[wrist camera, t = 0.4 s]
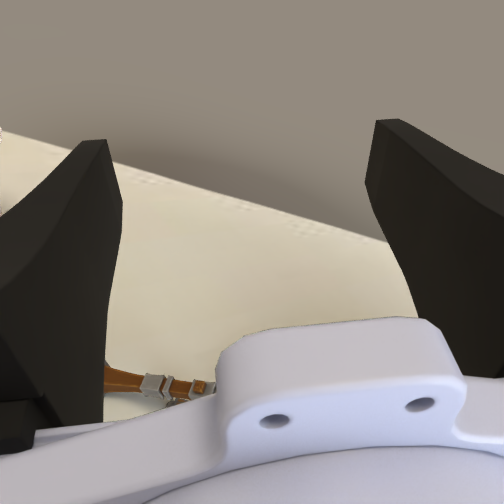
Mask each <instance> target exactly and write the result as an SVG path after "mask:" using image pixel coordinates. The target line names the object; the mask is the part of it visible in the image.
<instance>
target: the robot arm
mask: <svg viewBox="0 0 504 504" xmlns="http://www.w3.org/2000/svg"><path fill="white" fill-rule="evenodd" d="M365 185H366V189H367V192H368V196H369V199H370V203H371V206H372V209H373V212H374V214H375V216H376V218H377V220H378V223H379V225H380V227H381V229H382V231H383V233H384V235H385V237H386V239H387V241H388V243H389V245H390V247H391V249H392V251H393V253H394V256H395V258H396V260H397V262H398V264H399V266H400V268H401V270H402V272H403V275H404V277H405V279H406V282H407V284H408V287H409V290H410V293H411V296H412V299H413V302H414V305H415V307H416V310H417V314H418V317H419V318H411V317H398V316H394V317H384V318H374V319H364V320H354V321H344V322H334V323H324V324H314V325H304V326H294V327H284V328H275V329H268V330H264V331H260V332H257V333H253V334H249V335H245V336H243V337H242V338H240V339H239V340H237V341H236V342H235V343H233V344H232V345H230V346H229V347H228V348H226V349H225V350H224V351H222V352H221V354H220V357H219V360H218V363H217V365H216V368H215V374H216V390H217V392H216V393H214V394H211V395H208V396H204V397H201V398H198V399H194V400H191V401H188V402H185V403H181V404H178V405H175V406H171V407H168V408H165V409H161V410H158V411H155V412H152V413H148V414H145V415H142V416H138V417H135V418H132V419H128V420H120V421H111V422H103V401H104V367H105V345H106V329H107V313H108V305H109V298H110V292H111V287H112V282H113V276H114V271H115V266H116V261H117V255H118V250H119V244H120V239H121V233H122V207H123V201H122V197H121V194H120V190H119V186H118V182H117V178H116V174H115V170H114V167H113V163H112V159H111V155H110V151H109V148H108V144H107V140H106V139H101V140H87V141H82V142H81V143H80V144H79V145H78V146H77V147H76V148H75V149H74V150H73V151H72V152H71V153H70V154H69V155H68V156H67V157H66V158H65V159H64V160H63V161H62V162H61V163H60V164H59V165H58V166H57V167H56V168H55V169H54V170H53V171H52V172H51V173H50V174H49V175H48V176H47V177H46V178H45V179H44V180H43V181H42V182H41V183H40V184H39V185H38V186H37V187H36V188H34V189H33V190H32V191H31V192H30V193H29V194H28V195H27V196H26V197H24V198H23V199H22V200H21V201H20V202H19V203H18V204H16V205H15V206H14V207H13V208H11V209H10V210H9V211H7V212H6V213H5V214H3V215H2V216H1V217H0V504H504V175H503V174H500V173H498V172H495V171H494V170H491V169H489V168H487V167H485V166H483V165H481V164H479V163H477V162H475V161H473V160H471V159H469V158H467V157H466V156H464V155H462V154H460V153H458V152H457V151H454V150H453V149H451V148H449V147H448V146H446V145H444V144H443V143H441V142H439V141H437V140H436V139H434V138H433V137H431V136H429V135H427V134H426V133H424V132H422V131H421V130H419V129H417V128H415V127H414V126H412V125H410V124H408V123H407V122H404V121H402V120H400V119H385V120H376V123H375V129H374V134H373V140H372V145H371V151H370V156H369V162H368V168H367V172H366V178H365Z"/></svg>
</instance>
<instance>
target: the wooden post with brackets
mask: <svg viewBox="0 0 504 504" xmlns="http://www.w3.org/2000/svg"><path fill="white" fill-rule="evenodd" d="M108 392H139V393H143V394H144V395H145V396H153V397H159V398H161V399H164V396H165V397H166V398H167V400H173V397H175V398H176V399H175V401H170V402H168V404H167V408H168V407H171V406H175V405H178V404H181V403H185V402H188V401H189V400H190V401H191V400H194V399H198V398H201V397H204V396H208V395H211V394H214V393H216V392H217V390H216V382H205V381H198V380H195V379H194V380H193V382H186V381H180V380H175V379H174V377H173V376H169V375H168V378H166V377H165V376H164V375H151V374H148V373H146V374H145V376H143V375H137V374H132V373H128V372H125V371H121V370H117V369H113V368H111V367H110V366H109V364H108V363H107V362H106V360H105V367H104V396H105V394H106V393H108ZM180 398H183V399H180ZM184 399H189V400H184Z"/></svg>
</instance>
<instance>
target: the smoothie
mask: <svg viewBox="0 0 504 504" xmlns="http://www.w3.org/2000/svg"><path fill="white" fill-rule="evenodd" d="M1 141H2V130H1V127H0V143H1ZM0 217H1V209H0Z"/></svg>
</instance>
